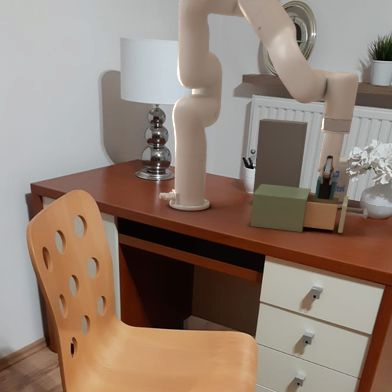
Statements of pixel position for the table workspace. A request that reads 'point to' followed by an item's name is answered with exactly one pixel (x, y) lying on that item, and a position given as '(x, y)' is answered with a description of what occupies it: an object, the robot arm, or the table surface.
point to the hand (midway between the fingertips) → (324, 195)
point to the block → (331, 188)
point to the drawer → (327, 213)
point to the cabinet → (279, 207)
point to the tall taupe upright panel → (279, 153)
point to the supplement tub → (341, 180)
